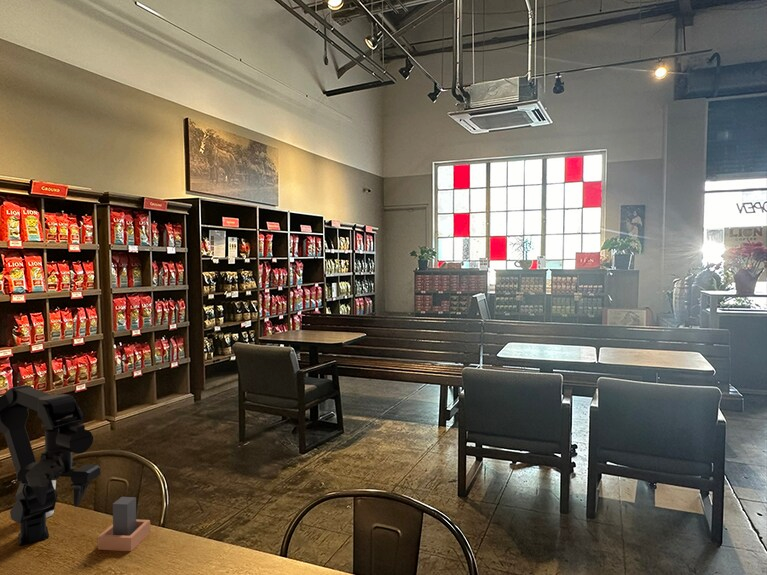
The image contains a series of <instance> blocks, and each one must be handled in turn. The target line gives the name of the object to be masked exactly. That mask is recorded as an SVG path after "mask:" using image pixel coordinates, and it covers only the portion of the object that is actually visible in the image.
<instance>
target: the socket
mask: <svg viewBox="0 0 767 575" xmlns="http://www.w3.org/2000/svg"><path fill="white" fill-rule="evenodd" d="M149 534H151V520H150V519H138V518H136V530H135V531H134V532H133V533H132V534H131V535H130V536H125V535H113V523H112V524H110V526H108V527H107V528H106V529H105V530H104V531H103V532H101V533H100V534H99V535H98V536H97V550H98V551H99V550H102V551H119V552H120V551H121V552H132V551H133V550H134V549H135V548H136V547H137V546H138V545H139V544H140V543H141V542H142V541H144V539H145V538H146V537H147V536H149Z"/></svg>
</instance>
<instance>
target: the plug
mask: <svg viewBox="0 0 767 575" xmlns="http://www.w3.org/2000/svg"><path fill="white" fill-rule="evenodd" d="M136 519H137V497H133V496H121V497H119V498H118V499H116V500H115V501H114V502H113V503H112V524H113V535H125V536H130V535H131V534H132V533H133V532H134V531H135V530H136Z"/></svg>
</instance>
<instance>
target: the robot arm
mask: <svg viewBox="0 0 767 575" xmlns="http://www.w3.org/2000/svg"><path fill="white" fill-rule="evenodd" d="M29 410H33V411H36V412H37V418H39V420H41V422H42V423H41V425H40V426H41V427H42V428H44V446H45V447H44V450H45V451H44V452H42V453H41V455H40V460H39V462H38V461H37V460H36V456H35V453H34V450H33V447H32V444H31V441H30V437H29V435H28V431H27V428H26V424H27V421H28V419H29V415H30V414H29ZM83 416H84V413H83V412H82V410H81V408H80V406H79V405H78V402H77V400H76V399H75V398H74V396H72V395H71V394H63V393H62V394H50V393H47V392H44V391H42V390H39V389H36V388H34V387H33V386H31V385H27V384H24V385H20V386H19V385H18V386H14V387H11V388H8V389H7V390H6V392H5V393H4V394H3V395H1V396H0V433H1V434H3V435H4V438H5V442H6V445H7V448H8V450H9V454H10V458H11V460H12V464H13V466H14V470H15V475H16V481H17V482H18V484H19V485H18V488H17V491H16V493H15V496H14V497H15V501H16V502H15V503H14V505H13V506H12V508H11V509H10V511H9V514H10V519H11V520H12V521H13V522H16V523H18V524H19V525H20V526H19V528H20V529H19V531H20V533H18V535H17V537H18V546H24V545H27V544H31V543H34V542H38V541H42V540H45V539H49V538H50V533H49V529H48V526H47V518H46V513H47V512H49V511H53V510H54V511H55V507H56V504H57V498H58V494H57V491H56V488H55V489H54V487H53V484H52V480H56V481H57V480H58V479H59V478H60V477H61V478H62V477H63V478H64V477H65V478H66V477H67V478H70V481H71V482H72V483H70V485H69V486H71V488H72V489H73V504H74V507H75V508H77V507H78V506H79V505H80V504H81V502H82V499H83V497H84V494H85V492H86V491H87V489H88V486H89V485H90V483H91V481H93V480H94V479H96V478H97V477H99V476H100V475H101V467H100V465H98V464H87V463H85V464H83V465H82V466H80V467H78V468H73V467H75V466H76V465H77V463H76V460H73V454H83V453H85V452H87V450H89V449H90V448H91V446H92V445H93V442H94V435H93V434H92V432H91V431H90V430H88V429H86V426H85V424H84V423H83V422H85V419H84V417H83Z"/></svg>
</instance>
